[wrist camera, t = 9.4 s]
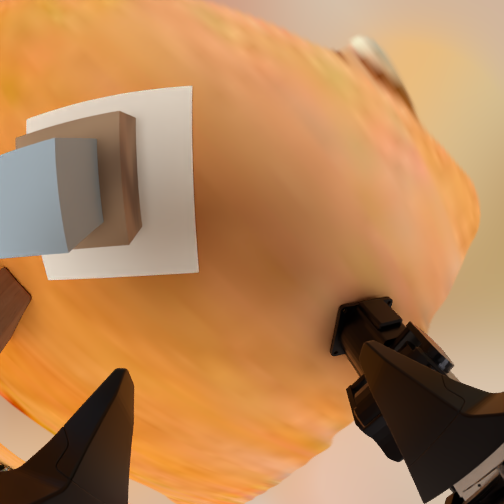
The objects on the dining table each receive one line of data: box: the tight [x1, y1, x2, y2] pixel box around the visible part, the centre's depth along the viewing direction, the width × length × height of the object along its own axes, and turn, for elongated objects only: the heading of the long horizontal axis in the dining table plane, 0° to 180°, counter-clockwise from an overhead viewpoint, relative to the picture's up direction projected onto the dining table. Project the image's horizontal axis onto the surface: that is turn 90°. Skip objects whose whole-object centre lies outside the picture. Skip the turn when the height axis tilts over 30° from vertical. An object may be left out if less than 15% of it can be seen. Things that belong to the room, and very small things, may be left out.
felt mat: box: [26, 86, 199, 280], centre depth 17 cm, size 14×14×1 cm
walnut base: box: [16, 111, 142, 249], centre depth 15 cm, size 8×8×4 cm
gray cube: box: [0, 138, 104, 259], centre depth 11 cm, size 5×5×5 cm
